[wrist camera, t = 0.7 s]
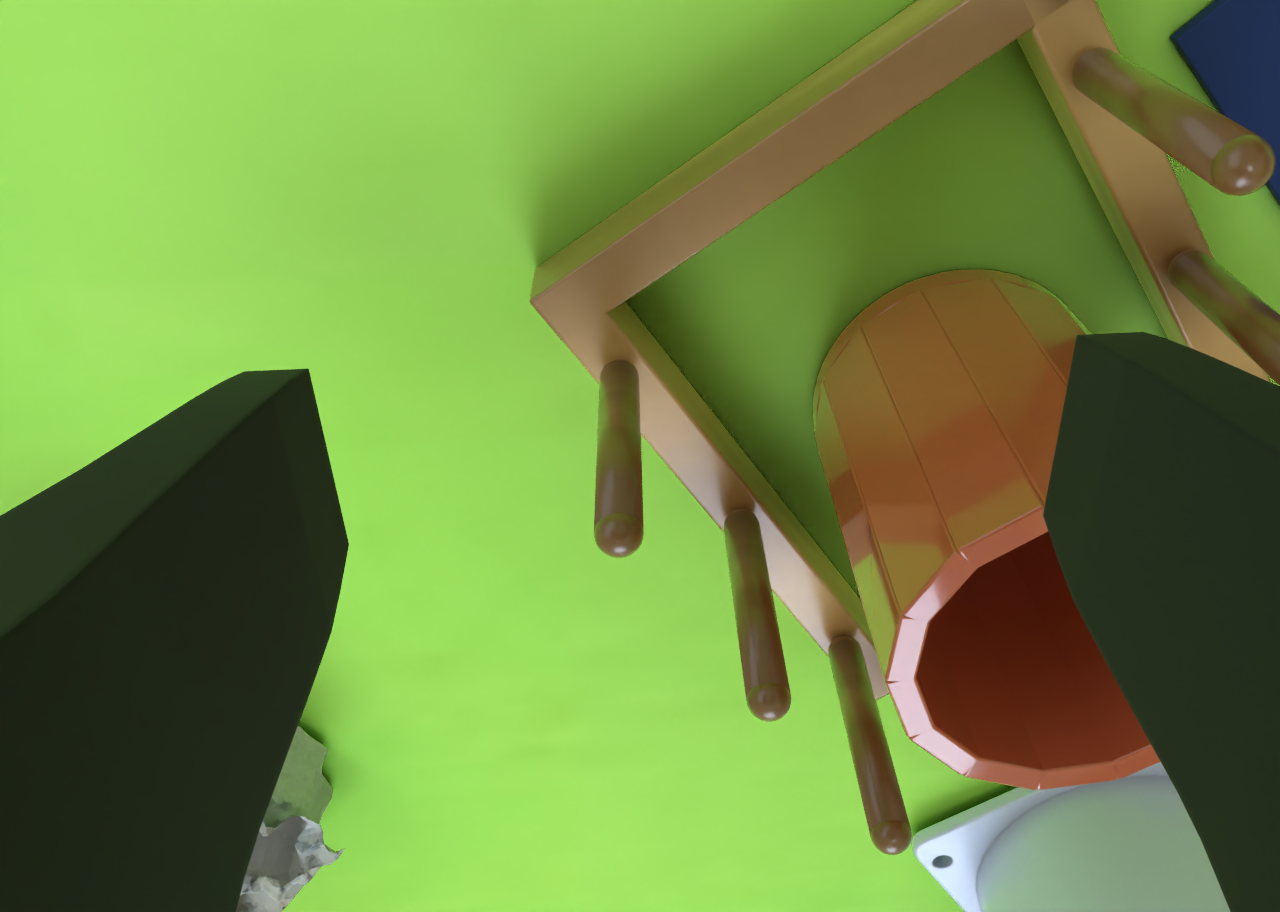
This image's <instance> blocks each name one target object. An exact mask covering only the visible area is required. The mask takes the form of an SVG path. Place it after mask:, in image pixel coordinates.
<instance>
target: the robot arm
mask: <svg viewBox="0 0 1280 912" xmlns="http://www.w3.org/2000/svg"><path fill="white" fill-rule="evenodd" d="M1043 517H1044V520H1045V523H1046V526H1047V529H1048V532H1049V535H1050V538H1051V541H1052V544H1053V547H1054V550H1055V553H1056V556H1057V558H1058V561H1059V564H1060V567H1061V569H1062V572H1063V575H1064V577H1065V580H1066V583H1067V585H1068V588H1069V591H1070V593H1071V596H1072V599H1073V601H1074V603H1075V605H1076V607H1077V609H1078V611H1079V613H1080V615H1081V616H1082V618H1083V620H1084V622H1085V624H1086V626H1087V628H1088V630H1089V632H1090V633H1091V635H1092V637H1093V639H1094V641H1095V643H1096V645H1097V647H1098V648H1099V650H1100V652H1101V654H1102V656H1103V658H1104V660H1105V661H1106V663H1107V665H1108V667H1109V669H1110V671H1111V673H1112V674H1113V676H1114V678H1115V680H1116V682H1117V683H1118V685H1119V687H1120V689H1121V691H1122V692H1123V694H1124V696H1125V698H1126V700H1127V702H1128V703H1129V705H1130V707H1131V709H1132V711H1133V712H1134V714H1135V716H1136V718H1137V720H1138V722H1139V723H1140V725H1141V727H1142V729H1143V731H1144V732H1145V734H1146V736H1147V738H1148V740H1149V742H1150V743H1151V745H1152V747H1153V749H1154V751H1155V752H1156V754H1157V756H1158V758H1159V760H1160V762H1159V763H1157V764H1155V765H1152V766H1150V767H1148V768H1145V769H1143V770H1141V771H1138V772H1136V773H1134V774H1132V775H1129V776H1127V777H1125V778H1122V779H1117V780H1115V781H1108V782H1100V783H1092V784H1084V785H1076V786H1069V787H1061V788H1053V789H1045V790H1037V789H1036V790H1030V789H1025V788H1020V787H1017V788H1015V789H1013V790H1010V791H1008V792H1006V793H1004V794H1001V795H999V796H997V797H995V798H992V799H990V800H988V801H986V802H983V803H981V804H979V805H977V806H974V807H972V808H970V809H967V810H965V811H963V812H961V813H958V814H956V815H954V816H952V817H949V818H947V819H945V820H943V821H940V822H938V823H936V824H934V825H931V826H929V827H927V828H925V829H922V830H921V831H919V832H918V833H916V834H915V835H914V837H913V838H912V842H911V845H912V848H913V852H914V855H915V857H916V858H917V859H918V860H919V861H920V863H921V864H922V865H923V866H924V867H925V868H926V869H927V870H928V871H929V873H930V874H931V875H932V876H933V877H934V878H935V879H936V880H937V881H938V883H939V884H940V885H941V886H942V887H943V888H944V889H945V890H946V891H947V892H948V894H949V895H950V896H951V897H952V898H953V899H954V900H955V901H956V902H957V904H958V905H959V906H960V907H961V908H962V909H963V910H964V911H965V912H1280V387H1279V386H1277V385H1275V384H1273V383H1270V382H1268V381H1266V380H1264V379H1261V378H1259V377H1257V376H1255V375H1252V374H1250V373H1248V372H1246V371H1243V370H1241V369H1239V368H1237V367H1234V366H1232V365H1230V364H1228V363H1225V362H1223V361H1221V360H1218V359H1216V358H1214V357H1211V356H1209V355H1207V354H1204V353H1202V352H1199V351H1197V350H1194V349H1192V348H1190V347H1187V346H1184V345H1182V344H1179V343H1176V342H1174V341H1171V340H1168V339H1165V338H1162V337H1159V336H1155V335H1152V334H1148V333H1144V332H1134V333H1112V334H1089V335H1077V337H1076V342H1075V348H1074V353H1073V358H1072V364H1071V369H1070V374H1069V380H1068V385H1067V390H1066V395H1065V401H1064V406H1063V411H1062V417H1061V422H1060V427H1059V433H1058V438H1057V443H1056V449H1055V454H1054V459H1053V464H1052V470H1051V475H1050V480H1049V486H1048V491H1047V496H1046V502H1045V507H1044V512H1043ZM348 546H349V543H348V539H347V535H346V530H345V526H344V521H343V517H342V513H341V508H340V504H339V500H338V495H337V491H336V487H335V482H334V478H333V474H332V469H331V465H330V460H329V456H328V452H327V447H326V443H325V439H324V434H323V430H322V426H321V421H320V417H319V413H318V408H317V404H316V399H315V395H314V391H313V386H312V382H311V378H310V373H309V369H292V370H269V371H246V372H242V373H240V374H238V375H236V376H233V377H231V378H229V379H227V380H225V381H223V382H221V383H219V384H217V385H216V386H214V387H212V388H210V389H209V390H207V391H205V392H204V393H202V394H200V395H199V396H197V397H195V398H194V399H192V400H190V401H189V402H187V403H185V404H184V405H182V406H181V407H179V408H177V409H176V410H174V411H173V412H171V413H169V414H168V415H166V416H165V417H163V418H162V419H160V420H158V421H157V422H155V423H154V424H152V425H150V426H149V427H147V428H146V429H144V430H143V431H141V432H139V433H138V434H136V435H135V436H133V437H131V438H130V439H128V440H127V441H125V442H123V443H122V444H120V445H119V446H117V447H116V448H114V449H112V450H111V451H109V452H108V453H106V454H104V455H103V456H101V457H100V458H98V459H96V460H95V461H93V462H92V463H90V464H89V465H87V466H85V467H84V468H82V469H80V470H79V471H77V472H75V473H74V474H72V475H70V476H68V477H67V478H65V479H63V480H61V481H60V482H58V483H56V484H55V485H53V486H51V487H49V488H48V489H46V490H44V491H42V492H41V493H39V494H37V495H36V496H34V497H32V498H30V499H29V500H27V501H25V502H24V503H22V504H20V505H18V506H17V507H15V508H13V509H11V510H10V511H8V512H6V513H5V514H3V515H1V516H0V912H236V910H237V906H238V902H239V898H240V894H241V890H242V886H243V882H244V878H245V874H246V871H247V868H248V865H249V862H250V858H251V855H252V852H253V849H254V846H255V843H256V839H257V836H258V833H259V830H260V827H261V824H262V822H263V819H264V816H265V814H266V811H267V808H268V805H269V803H270V800H271V797H272V794H273V792H274V789H275V786H276V784H277V781H278V778H279V775H280V773H281V770H282V767H283V764H284V762H285V759H286V756H287V754H288V751H289V748H290V745H291V743H292V740H293V737H294V735H295V732H296V729H297V726H298V724H299V721H300V718H301V716H302V713H303V710H304V707H305V705H306V702H307V699H308V696H309V694H310V691H311V688H312V685H313V682H314V680H315V677H316V674H317V671H318V668H319V666H320V663H321V660H322V657H323V654H324V651H325V649H326V646H327V643H328V640H329V637H330V634H331V631H332V626H333V622H334V617H335V613H336V608H337V603H338V599H339V594H340V589H341V584H342V578H343V573H344V567H345V562H346V557H347V551H348Z"/></svg>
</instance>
